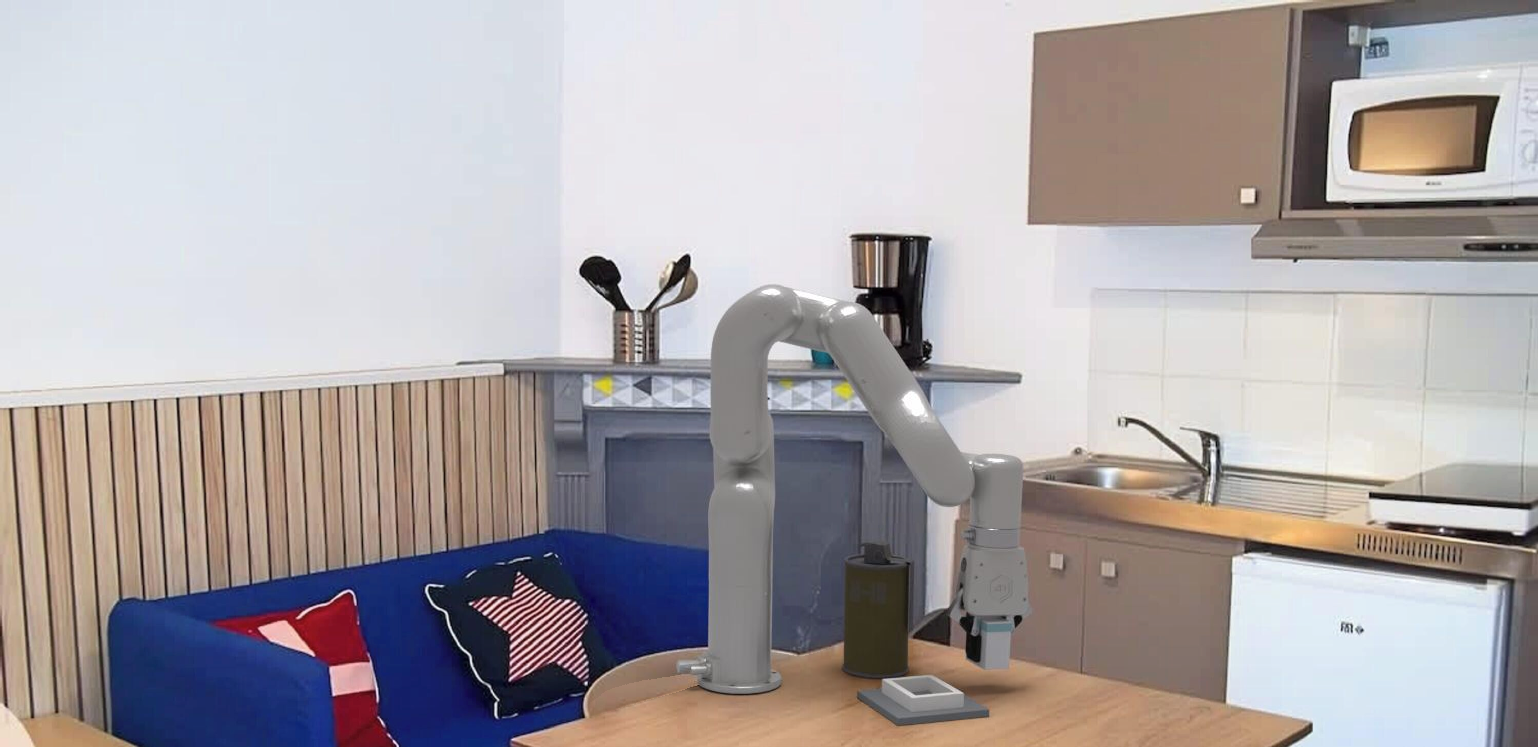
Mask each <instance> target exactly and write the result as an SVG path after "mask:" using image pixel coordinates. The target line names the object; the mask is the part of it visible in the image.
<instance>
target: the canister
mask: <svg viewBox="0 0 1538 747" xmlns="http://www.w3.org/2000/svg"><path fill="white" fill-rule="evenodd" d="M859 547H860V548H861V547H862V548H863V547H864V548H863V550H864V552H863V553H859V554H853V555H852V554H851V555H847V556H846V557H844V560H843V562H844V608H843V610H844V611H843V612H844V613H843V615H844V618H843V664H842V665H841V668H842V671H843V672H845V673H846V674H848V675H852V676H855V677H859V678H867V679H881V680H882V679H889V678H899V677H902V676H905V675H906V674H908V672H909V671H910V668H909V665H908V664H909V663H908V662H909V633H911V632H912V631H913V629H914V601H915V600H914V596H915V595H914V594H915V593H914V592H915V560H914V559H910V558H908V557H905V556H901V555H896V554H892V551H891V543H890V542H889V541H875V540H866V541H864V542H862V543H861V544H859Z"/></svg>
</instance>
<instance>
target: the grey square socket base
mask: <svg viewBox="0 0 1538 747" xmlns="http://www.w3.org/2000/svg"><path fill="white" fill-rule="evenodd" d="M856 698H857V699H858V700H860V701H862V702H863V703H864V704H866V705H867V706H869V707H870V708H872V709H873V710H875V711H876V712H877V713H879V714H881V715H882V716H884V717H885V718H886V719H888V720H889V721H891V722H892V723H894V724H895V725H896V726H909V725H918V724H929V723H939V722H947V721H948V722H949V721H958V720H959V721H960V720H968V719H979V718H987V717H989V718H990V709H989V708H987V706H984V705H982V704H980V703H979V702H977V701H975V699H974V700H973V699H972V698H970V697H969V696H967V695H965V693H964V692H962V691H961V690H959V689H958V688H957V687H956V688H955V687H953V685H950V684H948V683H947V682H945V681H943V680H942V679H940V678H938V677H937V676H935V675H933V674H927V675H926V674H925V675H914V676H903V677H902V676H900V677H895V678H884V679H881V688H872V689H861V690H856Z"/></svg>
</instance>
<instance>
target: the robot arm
mask: <svg viewBox="0 0 1538 747" xmlns="http://www.w3.org/2000/svg"><path fill="white" fill-rule="evenodd" d="M777 342H779V343H785V344H789V345H793V346H797V347H800V348H805V349H810V350H811V351H813V350H814V351H817V352H822V353H826V354H827V353H828V355H829V356H830V357H831V359H832V360H833V361H834V363H835V364H836V366H837V367H838V369H839V371H840V372H841V374H842V375H843V376H844V378H845V379H846V381H847V383H848V384H849V385H850V387H851V388H852V390H853V391H854V393H855V394H856V396H857V397H858V398H859V400H860V402H861V404H862V405H863V406H864V409H866V411H867V412H868V414H869V415H870V417H871V418H872V420H873V421H874V423H875V424H876V426H877V427H878V428H879V429H880V430H881V431H882V432H883V434H885V435H886V436H887V438H888V440H889V441H890V442H891V443H892V445H893V446H894V448H895V449H896V451H897V452H898V454H899V455H900V457H901V459H903V461H904V463H905V464H906V466H907V467H908V469H909V470H910V472H911V473H912V474H913V475H912V476H914V477H915V480H916V481H917V482H918V484H919V485H920V487H921V488H922V490H923V491H924V493H925V495H926V496H927V497H928V499H930V501H932V502H933V503H934V504H936V505H938V506H941V507H945V508H956V507H958V506H959V507H960V505H963V504H964V503H965V502H967V501H968V500H969V515H968V516H969V517H968V518H969V521H968V525H967V529H966V530H961V532H960V538H961V540H965V541H967V544H965V545H964V546H963V549H962V553H961V557H960V562H959V566H958V571H957V579H956V588H955V597H954V599H953V600H952V602H950V603H951V604H950V605H949V607H948V608H947V610H946V613H945V614H946V616H948V617H950V618H951V619H952V620H954V621H955V622H957V624H958V625H959V626H960V627H961V628H962V630H963V631H964V632H965V634H966V636H965V651H964V652H965V655H966V654H967V658H968V659H970V660H972V661H974V662H976V663H978V662H980V657H981V636H980V635H979V630H980V625H981V621H982V617H992V616H1000V617H1002V618H1005V619H1007V620H1009V621H1011V622H1012V631H1011V635H1014V633H1015V632H1016V628H1017V627H1018V626H1019V625H1020V624H1021V623H1022V621H1023V620H1025V619H1026V618H1028V617H1029V616H1030V615H1032V614H1033V611H1034V610H1033V608H1032V606H1031V604H1030V602H1029V580H1028V579H1029V576H1028V565H1027V563H1028V562H1027V557H1026V552H1025V548H1024V547H1022V546H1020V538H1021V537H1020V534H1021V520H1022V505H1023V504H1022V501H1023V485H1024V484H1023V483H1024V482H1023V481H1024V464H1023V461H1022V460H1021V459H1020V458H1019V457H1017V456H1015V455H1011V454H1004V453H982V454H977V453H969V452H962V451H961V450H960V449H959V448H958V445H957V444H956V443H955V442H954V440H953V438H952V437H951V435H950V434H949V433H948V430H947V429H946V427H945V426H944V425H943V423H942V422H941V420H940V419H939V417H938V416H937V414H936V412H935V410H934V409H933V407H932V406H931V404H930V403H929V400H928V398H927V396H926V395H925V392H924V391H923V389H922V388H921V386H920V384H919V382H918V381H917V379H916V378H915V376H914V375H913V373H912V372H911V370H910V369H909V367H908V366H907V365H906V363H905V361H904V360H903V358H902V357H901V356H900V354H899V353H898V351H897V350H896V348H895V346H894V345H893V344H892V342H891V341H890V339H889V338H888V336H887V335H886V333H885V331H884V330H883V329H882V327H881V326H880V324H879V322H878V321H877V320H876V319H875V317H874V315H873V314H872V313H871V311H870V310H868V308H866V306H864V305H862V304H860V303H857V302H853V301H849V300H840V299H836V298H831V297H827V296H823V295H820V294H814V293H812V292H807V291H804V290H800V289H795V288H792V287H789V286H788V287H787V286H784V285H780V284H776V283H775V284H774V283H773V284H769V283H768V284H764V285H762V286H760V287H757V288H755V289H753V290H750V291H749V292H748V293H746V294H744V295H743V296H741V297H740V298H739V299H737V300H736V301H735V302H734V303H733V304H731V305H730V306H729V307H728V309H727V310H726V311H725V312H724V314H723V315H722V316H721V318H720V320H719V322H718V323H717V326H716V329H715V330H714V334H713V337H712V341H711V350H710V386H709V387H710V390H709V391H710V392H709V393H710V421H709V423H710V424H709V430H708V431H709V440H710V444H711V445H712V448H713V449H712V451H713V452H712V455H713V457H712V458H713V486H714V488H713V490H712V493H711V494H710V498H709V504H708V510H707V511H708V513H707V522H708V526H707V528H708V629H707V630H708V637H707V638H708V639H707V644H708V645H707V646H708V647H707V650H703V651H702V652H701V654H702V655H701V656H697V657H696V659H689V658H688V659H678V660H677V661H676V664H675V665H676V666H675V667H676V672H677V674H685V673H687V674H688V673H689V676H697V678H696V679H697V684H698V685H699V686H700V687H701V688H703V689H705V690H708V691H710V692H711V691H712V692H715V693H716V692H717V693H723V694H735V695H737V694H740V695H746V694H749V695H750V694H759V693H765V692H768V691H772V690H776V689H777V688H778V687H779V686H781V685H782V675H781V673H780V672H778V670H777V671H776V670H775V669H772V638H773V637H772V635H773V634H772V631H773V630H772V628H773V627H772V626H773V571H774V570H773V563H774V562H773V561H774V557H773V556H774V555H773V553H774V551H773V550H774V548H773V547H774V546H773V545H774V522H775V521H774V517H775V505H776V504H775V503H776V479H775V478H776V476H775V475H776V474H775V434H774V433H775V431H774V430H775V429H774V420H773V418H772V415H771V413H770V411H769V401H768V400H769V398H768V397H769V395H768V384H769V383H768V381H769V377H768V371H769V370H768V360H769V354H770V351H771V349H772V348H773V346H774V345H775V343H777ZM961 611H962V612H963V611H964V612H966V613H965V616H964V615H963V614H962V613H961ZM1011 643H1012V642H1011ZM1011 643H1010V646H1011Z"/></svg>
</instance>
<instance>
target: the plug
mask: <svg viewBox="0 0 1538 747" xmlns="http://www.w3.org/2000/svg"><path fill="white" fill-rule="evenodd" d="M1011 631H1012V622H1011V621H1009V620H1007V619H1005V618H1002V617H1000V616H992V617H982V621H981V625H980V630H979V635H980V636H981V657H980V662H978V663H976V662H974V661H972V660H970V659H968V658H967V654H966V653H965V660H966V661H968V662H969V663H971V664H974V666H977V667H979V668H981V669H983V670H985V671H991V670H992V671H993V670H1006V669H1007V670H1009V669H1010V657H1011V656H1010V655H1011V645H1010V643H1012V641H1011V640H1012V634H1011Z"/></svg>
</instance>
